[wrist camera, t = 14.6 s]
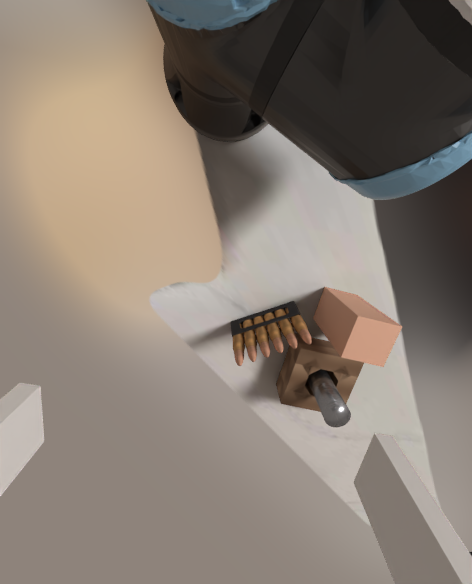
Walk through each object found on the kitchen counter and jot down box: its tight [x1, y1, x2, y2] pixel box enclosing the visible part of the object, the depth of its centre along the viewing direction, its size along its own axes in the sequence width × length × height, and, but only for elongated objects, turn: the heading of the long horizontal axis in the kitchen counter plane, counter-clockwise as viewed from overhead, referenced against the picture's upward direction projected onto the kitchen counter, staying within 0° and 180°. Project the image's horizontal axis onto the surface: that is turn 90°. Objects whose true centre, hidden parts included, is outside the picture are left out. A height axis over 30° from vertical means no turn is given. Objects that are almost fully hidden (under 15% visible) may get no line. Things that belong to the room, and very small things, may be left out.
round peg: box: [307, 369, 351, 427], centre depth 41 cm, size 3×3×12 cm
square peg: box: [313, 287, 402, 367], centre depth 38 cm, size 6×6×12 cm
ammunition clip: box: [231, 301, 312, 366], centre depth 39 cm, size 11×2×12 cm, turn 109°
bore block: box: [276, 334, 364, 412], centre depth 45 cm, size 10×10×5 cm
